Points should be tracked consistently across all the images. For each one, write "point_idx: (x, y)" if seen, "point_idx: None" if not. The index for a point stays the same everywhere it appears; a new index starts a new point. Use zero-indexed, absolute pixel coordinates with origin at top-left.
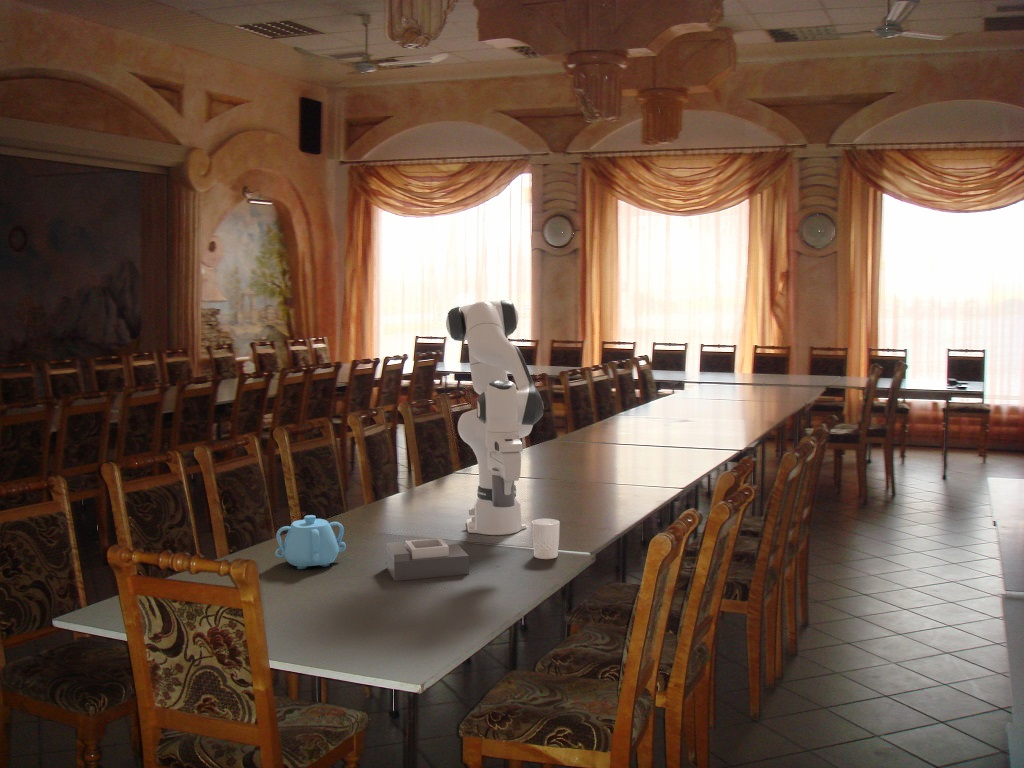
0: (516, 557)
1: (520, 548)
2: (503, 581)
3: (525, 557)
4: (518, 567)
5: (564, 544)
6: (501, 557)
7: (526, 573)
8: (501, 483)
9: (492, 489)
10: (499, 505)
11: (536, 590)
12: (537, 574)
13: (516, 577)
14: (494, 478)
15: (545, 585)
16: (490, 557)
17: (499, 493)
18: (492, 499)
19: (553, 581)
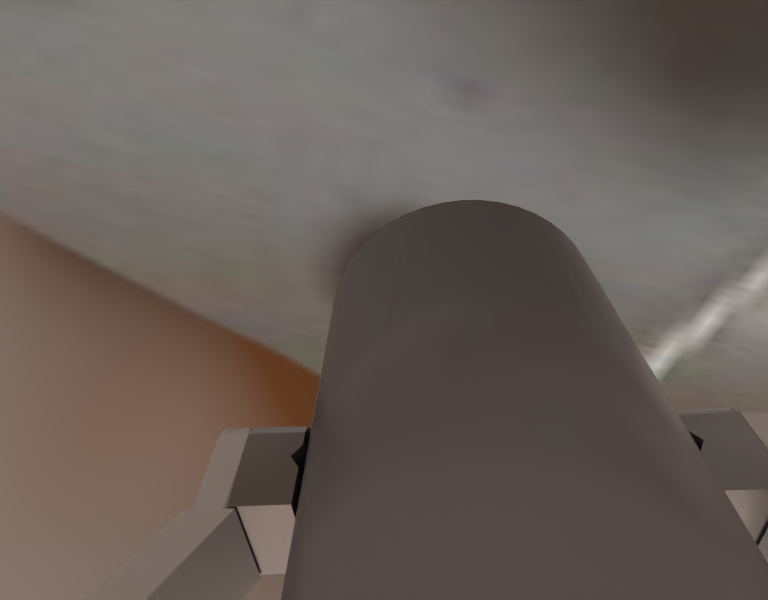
0: (593, 219)
1: (741, 270)
2: (170, 60)
3: None
4: (413, 190)
5: None
6: (632, 146)
7: (301, 204)
8: (294, 562)
9: (499, 333)
10: (349, 271)
11: (21, 187)
12: (277, 246)
13: (239, 143)
14: (415, 591)
15: (103, 240)
16: (664, 85)
17: (334, 377)
18: (487, 237)
19: (164, 281)
